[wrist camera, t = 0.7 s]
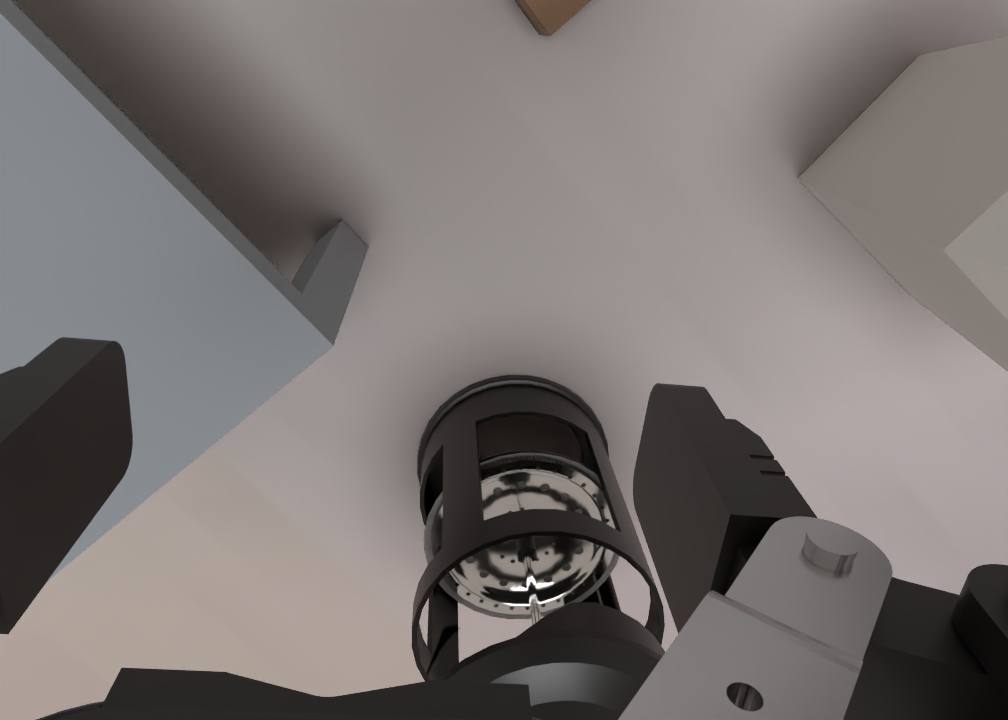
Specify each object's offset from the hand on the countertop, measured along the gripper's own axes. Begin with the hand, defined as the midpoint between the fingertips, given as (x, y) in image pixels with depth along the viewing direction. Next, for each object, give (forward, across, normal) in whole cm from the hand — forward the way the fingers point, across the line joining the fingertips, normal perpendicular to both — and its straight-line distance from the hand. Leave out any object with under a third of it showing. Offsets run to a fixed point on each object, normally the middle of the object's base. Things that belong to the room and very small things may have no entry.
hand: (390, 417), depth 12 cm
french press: (+22, -5, +14) cm, 27 cm away
